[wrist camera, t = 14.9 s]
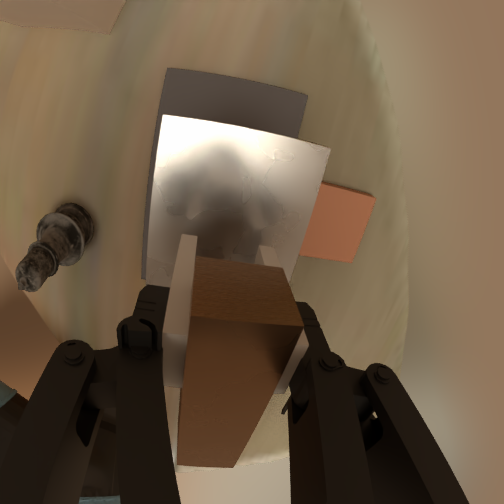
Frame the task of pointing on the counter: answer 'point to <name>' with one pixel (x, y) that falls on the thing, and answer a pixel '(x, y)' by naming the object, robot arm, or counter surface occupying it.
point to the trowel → (231, 269)
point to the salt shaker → (55, 245)
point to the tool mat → (223, 111)
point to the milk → (63, 14)
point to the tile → (337, 223)
